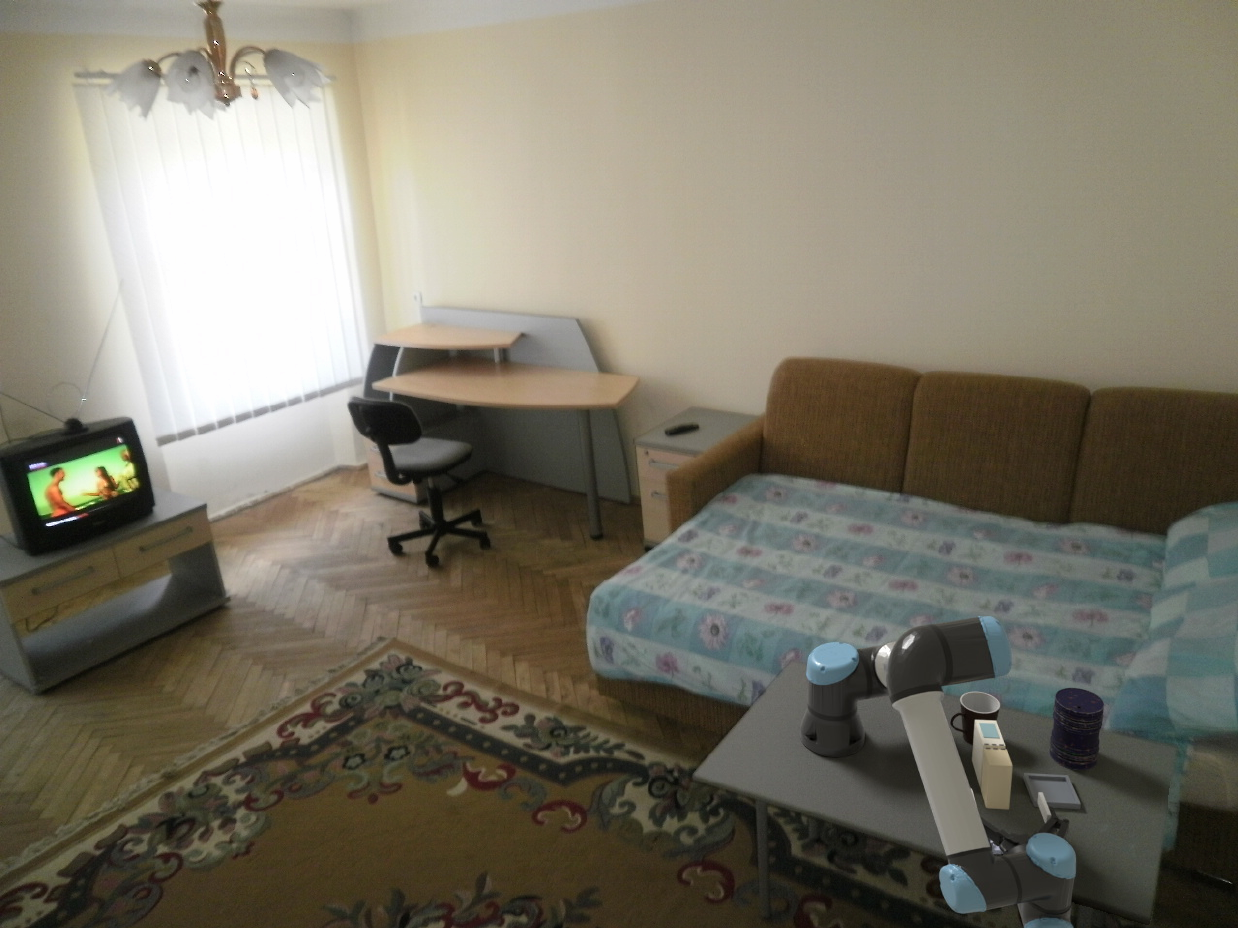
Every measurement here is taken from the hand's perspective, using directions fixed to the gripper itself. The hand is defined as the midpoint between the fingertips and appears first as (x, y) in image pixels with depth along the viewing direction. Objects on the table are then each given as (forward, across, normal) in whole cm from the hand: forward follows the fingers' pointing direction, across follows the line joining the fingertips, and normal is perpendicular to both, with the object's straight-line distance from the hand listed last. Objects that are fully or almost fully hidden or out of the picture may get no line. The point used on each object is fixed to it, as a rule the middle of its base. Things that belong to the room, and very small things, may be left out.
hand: (1004, 795), depth 183 cm
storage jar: (+22, +20, -6) cm, 30 cm away
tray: (+9, +12, -6) cm, 16 cm away
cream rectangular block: (+6, 0, -6) cm, 9 cm away
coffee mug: (+27, -1, -6) cm, 28 cm away
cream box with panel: (+14, 0, -6) cm, 16 cm away
